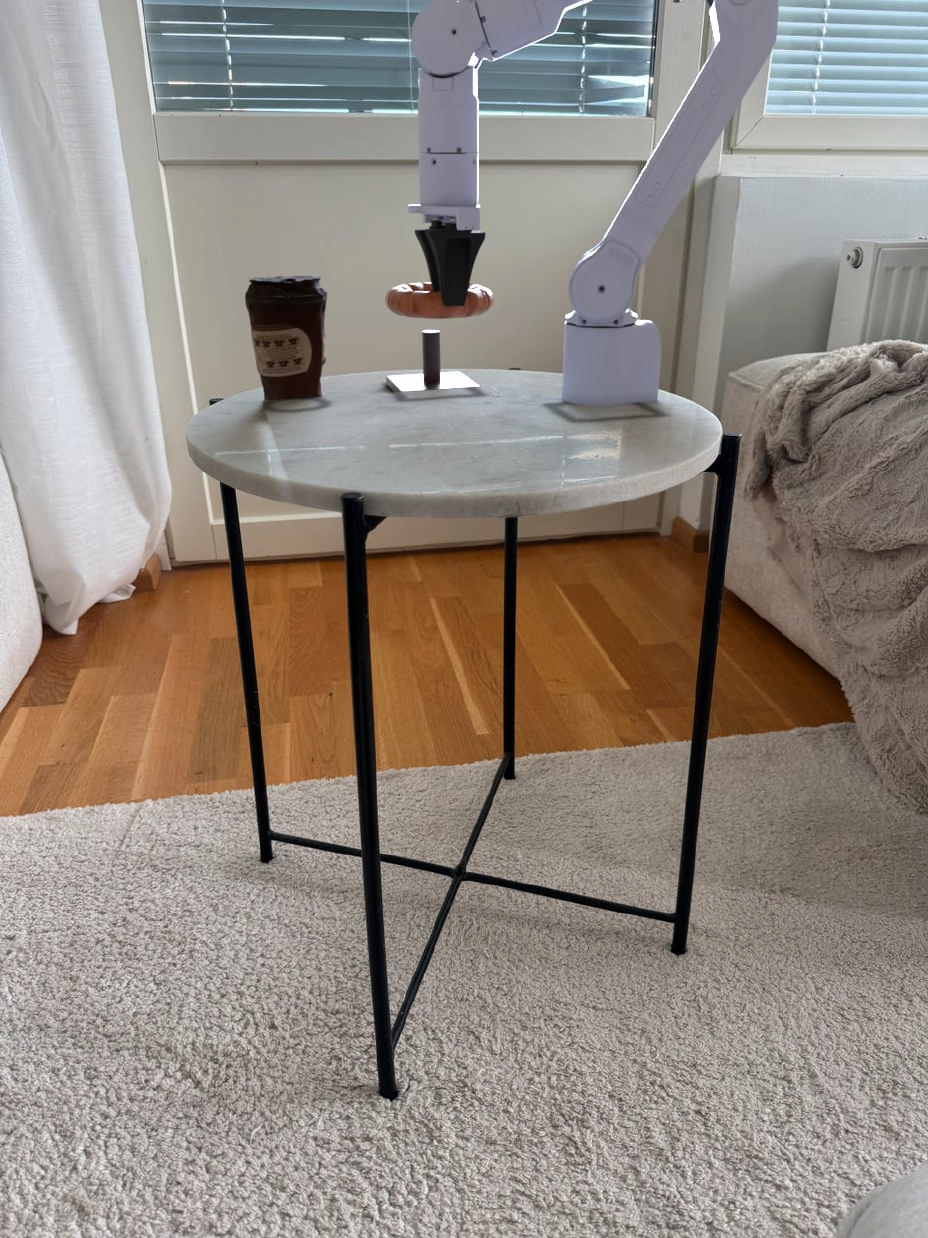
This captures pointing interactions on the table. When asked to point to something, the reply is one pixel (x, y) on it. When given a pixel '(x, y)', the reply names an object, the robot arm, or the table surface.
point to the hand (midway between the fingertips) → (449, 303)
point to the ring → (436, 302)
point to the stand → (430, 371)
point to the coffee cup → (288, 334)
